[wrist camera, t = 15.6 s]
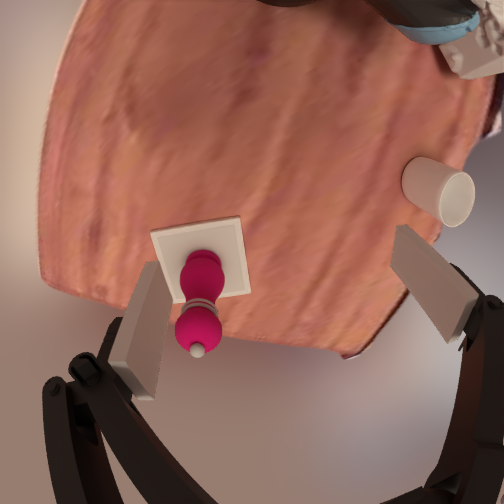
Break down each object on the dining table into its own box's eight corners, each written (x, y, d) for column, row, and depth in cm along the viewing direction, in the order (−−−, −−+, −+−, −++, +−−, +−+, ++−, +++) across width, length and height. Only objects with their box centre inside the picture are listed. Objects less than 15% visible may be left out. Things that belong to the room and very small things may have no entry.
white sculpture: (446, 84, 32) (538, 38, 8) (407, 16, 30) (471, -50, 5) (498, 86, 31) (571, 61, 6) (466, 27, 29) (526, -13, 4)
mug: (413, 146, 41) (456, 160, 30) (448, 177, 44) (486, 196, 34) (391, 189, 45) (430, 212, 34) (428, 215, 48) (464, 240, 38)
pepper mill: (174, 266, 47) (154, 356, 29) (200, 238, 44) (190, 324, 27) (206, 289, 49) (202, 380, 32) (233, 263, 47) (241, 354, 30)
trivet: (151, 230, 44) (150, 232, 43) (239, 215, 45) (239, 218, 44) (173, 300, 51) (173, 304, 50) (250, 289, 52) (251, 293, 51)
